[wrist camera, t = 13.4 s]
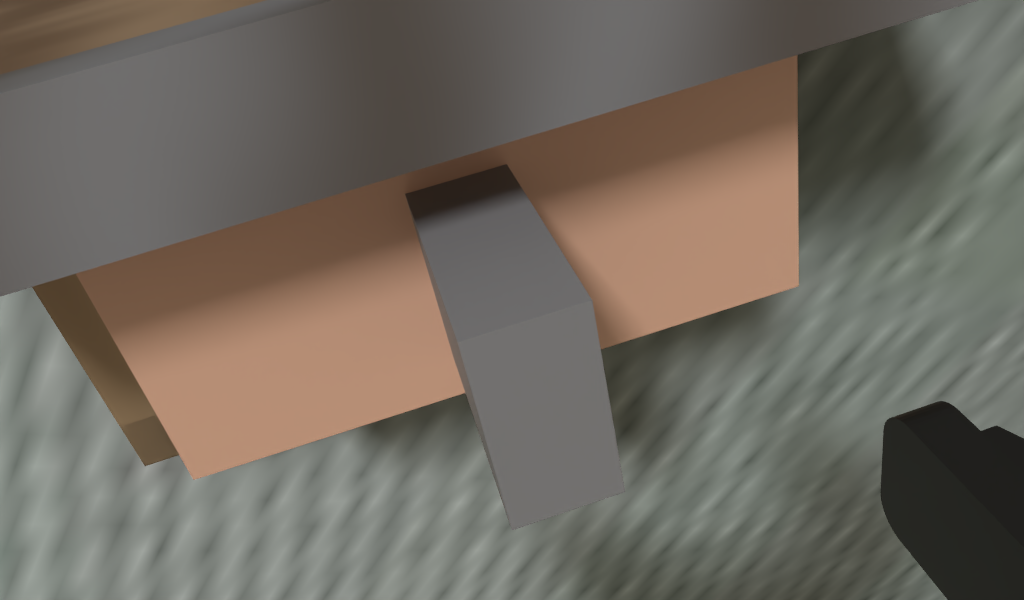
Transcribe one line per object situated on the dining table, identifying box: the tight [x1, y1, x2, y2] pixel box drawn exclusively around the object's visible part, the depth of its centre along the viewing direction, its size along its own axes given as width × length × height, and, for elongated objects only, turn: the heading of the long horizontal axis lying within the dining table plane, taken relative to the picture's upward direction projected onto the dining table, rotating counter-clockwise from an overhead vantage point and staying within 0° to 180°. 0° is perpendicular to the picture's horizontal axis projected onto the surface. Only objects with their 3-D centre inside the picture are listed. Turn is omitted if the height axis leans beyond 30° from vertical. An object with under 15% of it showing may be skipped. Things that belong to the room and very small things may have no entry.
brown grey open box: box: [0, 0, 977, 466], centre depth 19 cm, size 24×12×11 cm, turn 102°
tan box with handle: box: [76, 55, 799, 530], centre depth 19 cm, size 14×6×13 cm, turn 102°
